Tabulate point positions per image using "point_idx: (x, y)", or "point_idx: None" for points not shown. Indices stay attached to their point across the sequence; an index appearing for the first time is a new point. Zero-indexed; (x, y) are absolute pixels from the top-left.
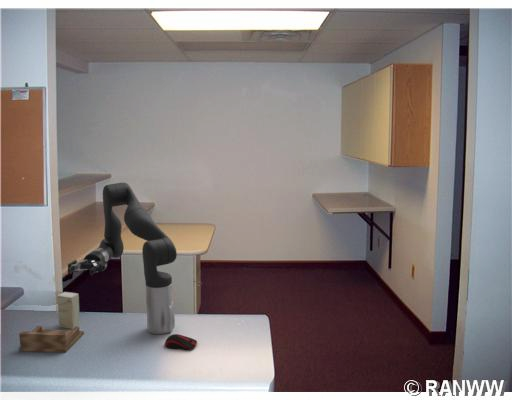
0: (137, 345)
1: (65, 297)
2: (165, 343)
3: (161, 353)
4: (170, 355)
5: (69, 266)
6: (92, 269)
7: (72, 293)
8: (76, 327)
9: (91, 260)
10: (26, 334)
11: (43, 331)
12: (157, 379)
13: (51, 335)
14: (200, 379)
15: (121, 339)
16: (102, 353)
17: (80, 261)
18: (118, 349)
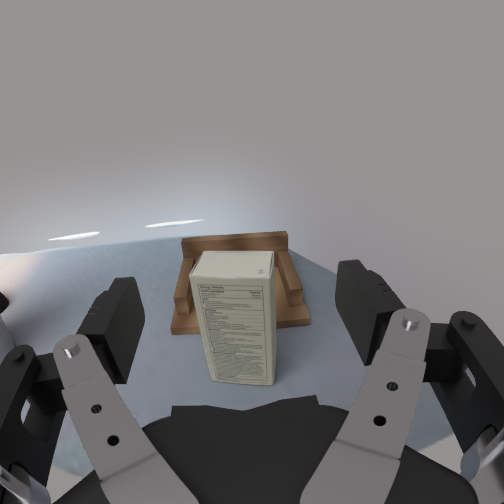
0: (48, 303)
1: (232, 253)
2: (5, 298)
3: (20, 288)
4: (12, 285)
5: (439, 325)
6: (111, 294)
7: (219, 273)
8: (181, 296)
9: (174, 494)
10: (269, 233)
11: (291, 311)
12: (45, 251)
13: (210, 237)
14: (6, 257)
15: (74, 319)
16: (111, 280)
17: (412, 414)
18: (83, 291)
